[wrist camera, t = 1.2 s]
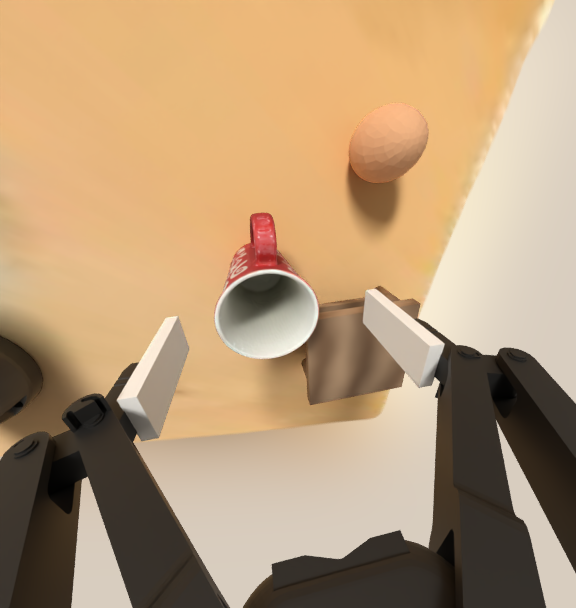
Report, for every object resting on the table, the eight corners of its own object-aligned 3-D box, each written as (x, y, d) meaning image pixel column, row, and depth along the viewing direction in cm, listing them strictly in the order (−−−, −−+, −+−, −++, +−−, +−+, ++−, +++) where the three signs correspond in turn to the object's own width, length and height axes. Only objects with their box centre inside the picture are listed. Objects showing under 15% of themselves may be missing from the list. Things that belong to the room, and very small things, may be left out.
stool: (299, 370, 41) (310, 405, 35) (294, 295, 34) (307, 321, 28) (377, 356, 43) (401, 386, 37) (388, 282, 36) (420, 303, 30)
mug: (289, 298, 34) (313, 357, 23) (226, 299, 33) (218, 363, 21) (295, 206, 29) (332, 221, 17) (220, 203, 27) (203, 216, 15)
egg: (398, 123, 27) (465, 96, 19) (380, 186, 29) (432, 187, 21) (345, 110, 25) (393, 76, 17) (332, 179, 28) (368, 176, 20)
